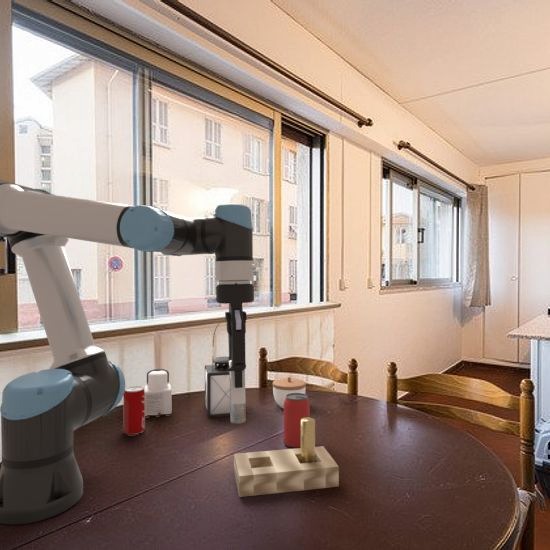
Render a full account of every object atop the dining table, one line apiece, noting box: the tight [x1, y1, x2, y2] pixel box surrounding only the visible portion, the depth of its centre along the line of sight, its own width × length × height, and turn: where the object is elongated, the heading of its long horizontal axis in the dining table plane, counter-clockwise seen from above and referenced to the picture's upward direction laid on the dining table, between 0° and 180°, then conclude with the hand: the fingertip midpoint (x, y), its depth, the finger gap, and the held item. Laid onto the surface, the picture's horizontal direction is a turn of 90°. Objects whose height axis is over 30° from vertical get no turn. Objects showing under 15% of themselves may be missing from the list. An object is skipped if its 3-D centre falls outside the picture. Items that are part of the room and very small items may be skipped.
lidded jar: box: [272, 376, 307, 410], centre depth 133 cm, size 11×11×9 cm
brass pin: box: [301, 417, 316, 464], centre depth 87 cm, size 3×3×12 cm
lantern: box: [204, 320, 230, 418], centre depth 129 cm, size 11×11×28 cm
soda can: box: [122, 385, 146, 435], centre depth 111 cm, size 6×6×12 cm
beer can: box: [283, 393, 311, 449], centre depth 104 cm, size 7×7×12 cm
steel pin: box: [229, 360, 247, 425], centre depth 82 cm, size 3×3×12 cm
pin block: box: [233, 445, 340, 498], centre depth 86 cm, size 20×10×4 cm, turn 101°
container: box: [144, 368, 173, 416], centre depth 127 cm, size 8×8×13 cm
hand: (237, 400), depth 82 cm, fingers closed on steel pin, 3 cm apart
